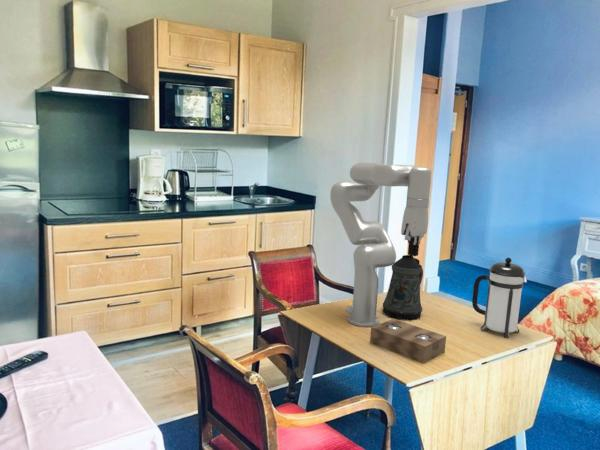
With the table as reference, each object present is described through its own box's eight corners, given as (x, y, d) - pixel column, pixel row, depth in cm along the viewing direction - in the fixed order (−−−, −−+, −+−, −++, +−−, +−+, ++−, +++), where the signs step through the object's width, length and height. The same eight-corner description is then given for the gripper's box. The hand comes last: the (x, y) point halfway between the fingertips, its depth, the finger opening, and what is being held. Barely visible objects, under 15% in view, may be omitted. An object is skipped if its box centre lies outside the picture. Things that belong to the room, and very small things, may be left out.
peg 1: (384, 340, 186) (386, 326, 185) (391, 338, 189) (392, 323, 188) (394, 344, 183) (395, 329, 182) (400, 341, 186) (401, 327, 185)
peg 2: (413, 351, 178) (414, 336, 177) (419, 348, 181) (421, 333, 180) (423, 355, 175) (425, 339, 174) (429, 352, 178) (431, 337, 177)
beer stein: (379, 317, 212) (384, 258, 208) (385, 303, 230) (390, 249, 226) (420, 323, 208) (425, 263, 203) (423, 308, 226) (428, 253, 222)
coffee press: (512, 325, 210) (521, 254, 205) (525, 340, 194) (535, 263, 189) (469, 321, 212) (477, 251, 207) (478, 336, 196) (487, 260, 191)
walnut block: (369, 343, 184) (371, 327, 183) (391, 333, 194) (393, 318, 193) (423, 363, 169) (425, 346, 168) (444, 352, 179) (446, 336, 178)
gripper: (419, 200, 184) (414, 250, 187) (396, 203, 173) (391, 256, 176) (438, 203, 179) (433, 254, 182) (415, 206, 168) (410, 260, 171)
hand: (412, 255), depth 179 cm, fingers closed
